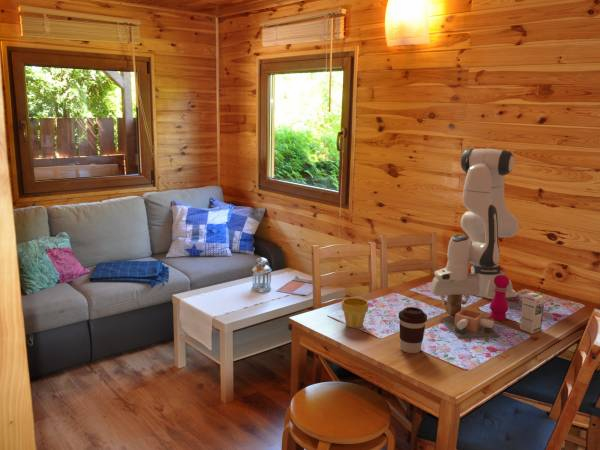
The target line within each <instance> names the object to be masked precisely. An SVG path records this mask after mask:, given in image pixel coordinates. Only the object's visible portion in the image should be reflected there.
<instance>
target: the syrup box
mask: <svg viewBox="0 0 600 450" xmlns="http://www.w3.org/2000/svg"><path fill="white" fill-rule="evenodd" d="M545 298H546V297H545V296H544V295H542V294H539V293H536V292H530V293H526V294H523V295H522V302H521V303H522V304H521V311H520V313H521V314H520V323H519V329H520V330H522V331H525V332H527V333H529V334H535V333H538V332H541V331H542V327H543V326H542V323H543V315H544V306H545Z"/></svg>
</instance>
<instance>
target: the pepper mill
mask: <svg viewBox="0 0 600 450" xmlns="http://www.w3.org/2000/svg"><path fill="white" fill-rule="evenodd" d="M509 280H510V279H509V277H508V276H507V275H505V271H504V272H503V271H501V273H500V275H498V276H496V277H495V278H494V284H495V288H494V289H495V296H494V298H493V299H491V301H490V304H489V309H490V310H491V311H490V314H489V316H490V318H491V319H493V320H497V321H505V320H506V319H507V314H506V313H507V312H508V311H509V304H508V301H507V298H506V291H507V286H508V285H509Z"/></svg>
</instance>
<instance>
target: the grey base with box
mask: <svg viewBox="0 0 600 450" xmlns="http://www.w3.org/2000/svg"><path fill="white" fill-rule="evenodd" d="M485 315H486V314H485V313H484V312H480V311H475V310H472V309H468V308H465V307H464V308H461V311H459V312H458V313H456V314H455V315H454V316H446V317H445V316H444V317H440V320H441V321H442V322H443V323H444V325H445V326H446V325H447V326H448V327H447V326H446V327H447V328H448V329H449V330H450V331H451V332H452V334H453V335H455V336H456V338H457V339H481V338H484V339H485V338H499V337H500V334H499V333H498V332H496V331H495V321H494V320H491V319H488V318H485Z"/></svg>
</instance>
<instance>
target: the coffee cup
mask: <svg viewBox="0 0 600 450" xmlns="http://www.w3.org/2000/svg"><path fill="white" fill-rule="evenodd" d="M398 319H399V339H400V341H399V342H400V343H399V344H400V345H399V346H400V349H401V351H403V352H405V353H407V354H418V353H420V352H421V350H422V347H423V346H422V345H423V341H424V337H425V336H424V335H425V328H426V322H427V321H428V315H427V314H426V312H424V311H423V309H421V308H419V307H415V306H408V307H407V306H406V307H405V308H403V309H402V310H400V311H399V312H398Z"/></svg>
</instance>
